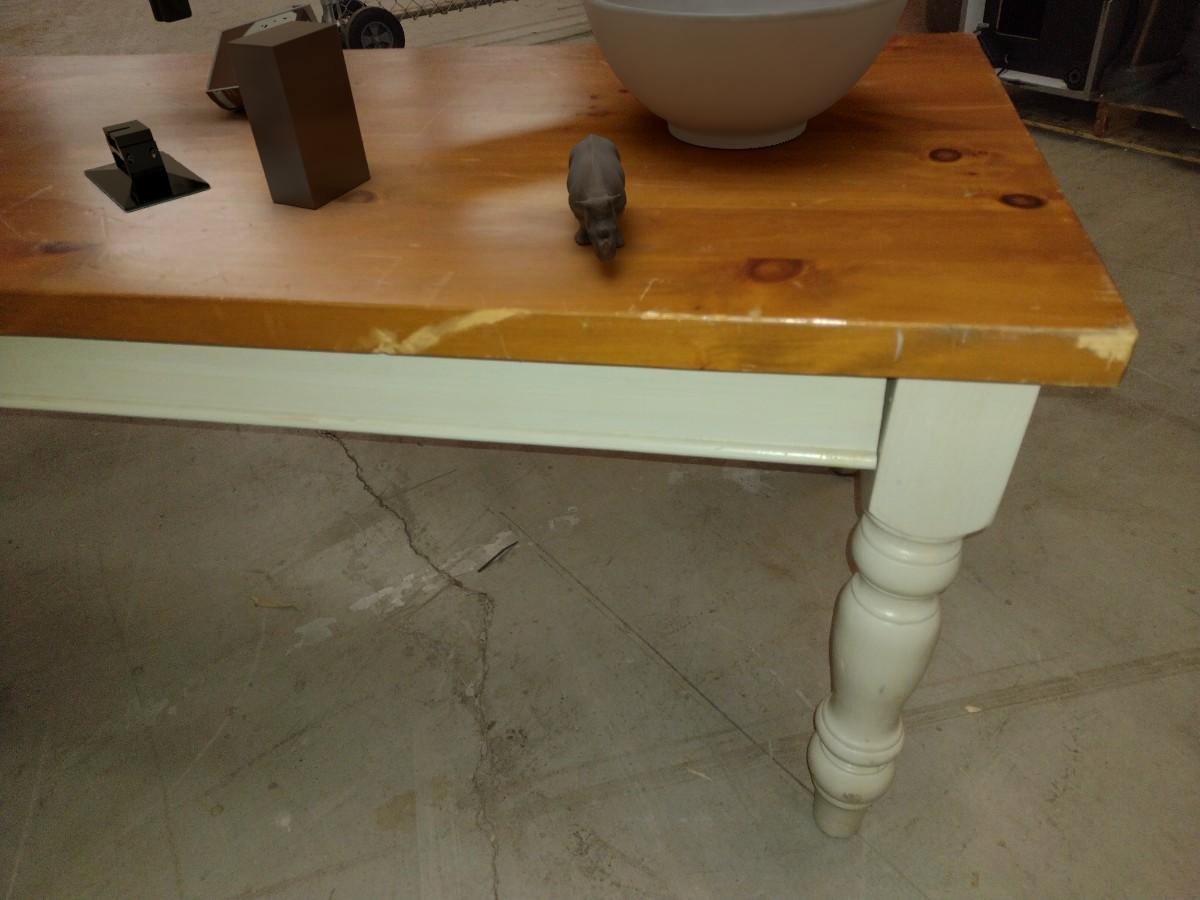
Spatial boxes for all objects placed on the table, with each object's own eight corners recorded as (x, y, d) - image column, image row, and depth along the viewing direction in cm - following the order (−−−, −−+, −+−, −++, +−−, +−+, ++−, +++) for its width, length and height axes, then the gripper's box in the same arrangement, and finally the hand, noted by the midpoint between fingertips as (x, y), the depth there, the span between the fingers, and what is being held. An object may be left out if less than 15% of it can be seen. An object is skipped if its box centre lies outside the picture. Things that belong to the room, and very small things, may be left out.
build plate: (84, 175, 78) (62, 122, 75) (166, 154, 81) (148, 103, 78) (126, 212, 70) (102, 155, 67) (214, 187, 73) (196, 131, 70)
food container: (237, 149, 91) (326, 130, 89) (202, 102, 85) (296, 81, 84) (254, 69, 96) (338, 51, 95) (222, 21, 91) (310, 0, 89)
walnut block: (272, 202, 70) (225, 42, 63) (329, 172, 75) (292, 20, 67) (315, 209, 68) (272, 46, 61) (371, 178, 73) (337, 23, 66)
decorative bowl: (629, 80, 92) (626, -50, 84) (893, 87, 85) (914, -53, 78) (549, 172, 72) (535, 12, 64) (886, 191, 65) (914, 15, 58)
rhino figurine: (572, 289, 56) (565, 198, 52) (569, 204, 66) (563, 125, 63) (635, 284, 56) (633, 194, 52) (622, 201, 66) (619, 121, 63)
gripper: (5, -214, 74) (89, 22, 85) (127, -221, 68) (200, 33, 79) (82, -216, 79) (151, 7, 90) (201, -222, 73) (259, 16, 84)
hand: (174, 18), depth 85 cm, fingers closed
